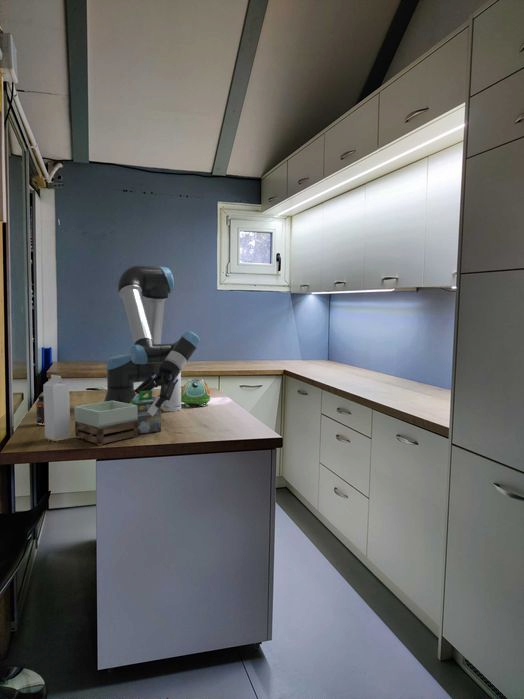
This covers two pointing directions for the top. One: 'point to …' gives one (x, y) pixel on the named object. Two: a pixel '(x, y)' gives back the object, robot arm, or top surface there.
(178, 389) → the bottle
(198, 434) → the top surface
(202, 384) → the turtle holder
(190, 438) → the top surface
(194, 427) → the top surface
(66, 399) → the milk
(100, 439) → the lower crate
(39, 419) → the supplement bottle
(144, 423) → the chalk box
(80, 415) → the box
